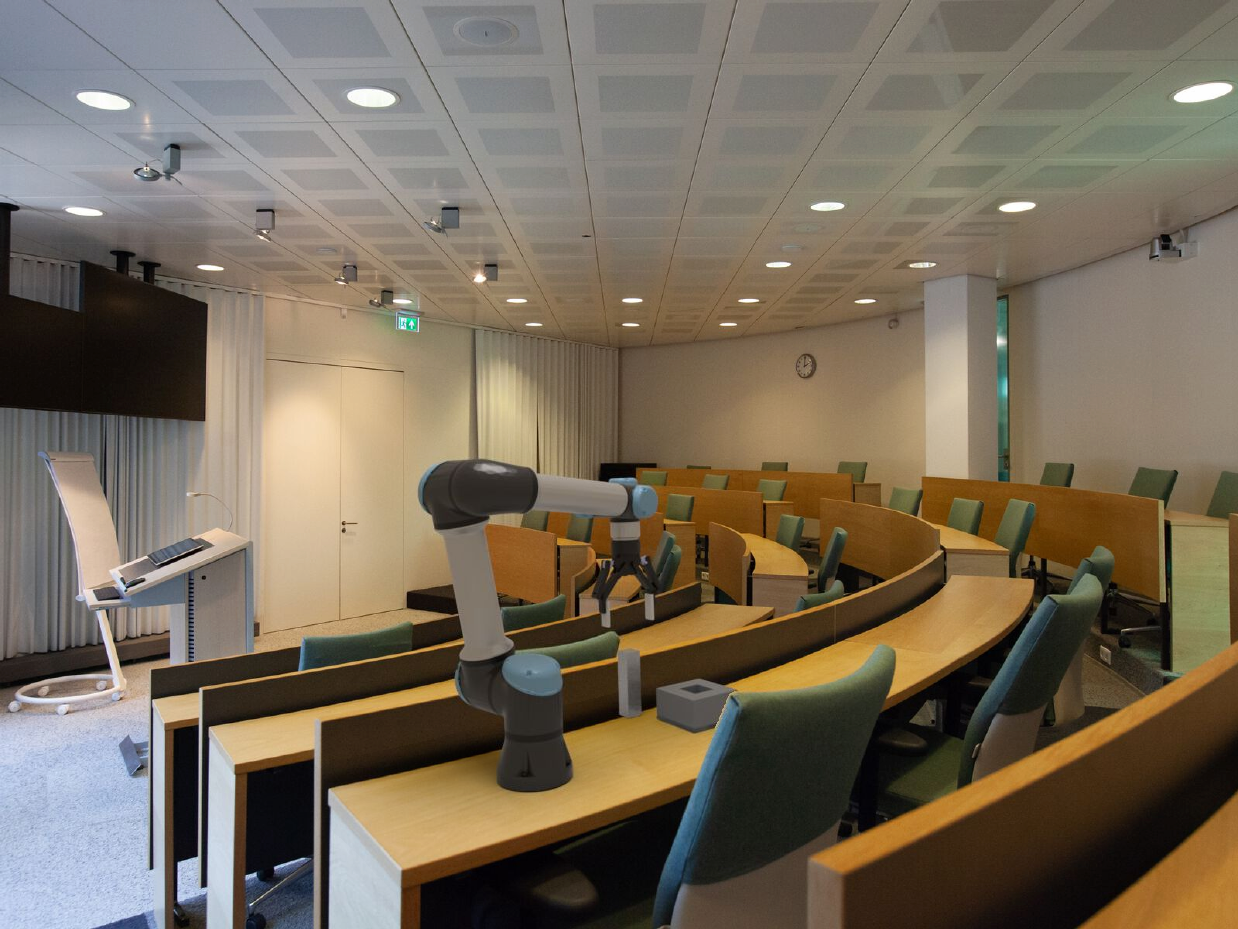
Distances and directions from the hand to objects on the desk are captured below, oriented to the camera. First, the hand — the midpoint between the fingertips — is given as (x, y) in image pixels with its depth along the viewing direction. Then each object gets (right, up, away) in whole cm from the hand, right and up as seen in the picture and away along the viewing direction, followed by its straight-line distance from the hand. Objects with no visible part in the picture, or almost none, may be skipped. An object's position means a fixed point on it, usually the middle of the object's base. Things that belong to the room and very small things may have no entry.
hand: (628, 623), depth 188 cm
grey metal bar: (0, -23, -1) cm, 23 cm away
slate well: (+17, -22, -7) cm, 29 cm away
